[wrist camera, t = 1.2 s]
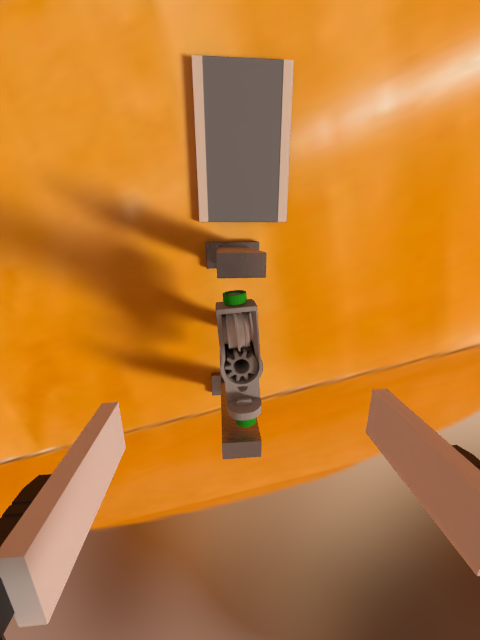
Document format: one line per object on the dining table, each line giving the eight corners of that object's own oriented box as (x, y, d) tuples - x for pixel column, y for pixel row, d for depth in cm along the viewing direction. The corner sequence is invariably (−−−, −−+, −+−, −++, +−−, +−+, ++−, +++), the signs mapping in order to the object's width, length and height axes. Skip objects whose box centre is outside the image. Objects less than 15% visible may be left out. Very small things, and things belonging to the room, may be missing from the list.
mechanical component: (224, 368, 29) (227, 431, 20) (213, 276, 26) (211, 298, 16) (250, 365, 29) (266, 426, 20) (243, 273, 26) (258, 293, 17)
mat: (192, 60, 21) (191, 54, 20) (291, 64, 21) (293, 60, 21) (199, 222, 24) (199, 221, 24) (284, 222, 25) (286, 221, 24)
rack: (206, 242, 25) (199, 245, 15) (258, 241, 25) (282, 244, 16) (212, 392, 30) (210, 464, 20) (255, 390, 30) (273, 460, 21)
